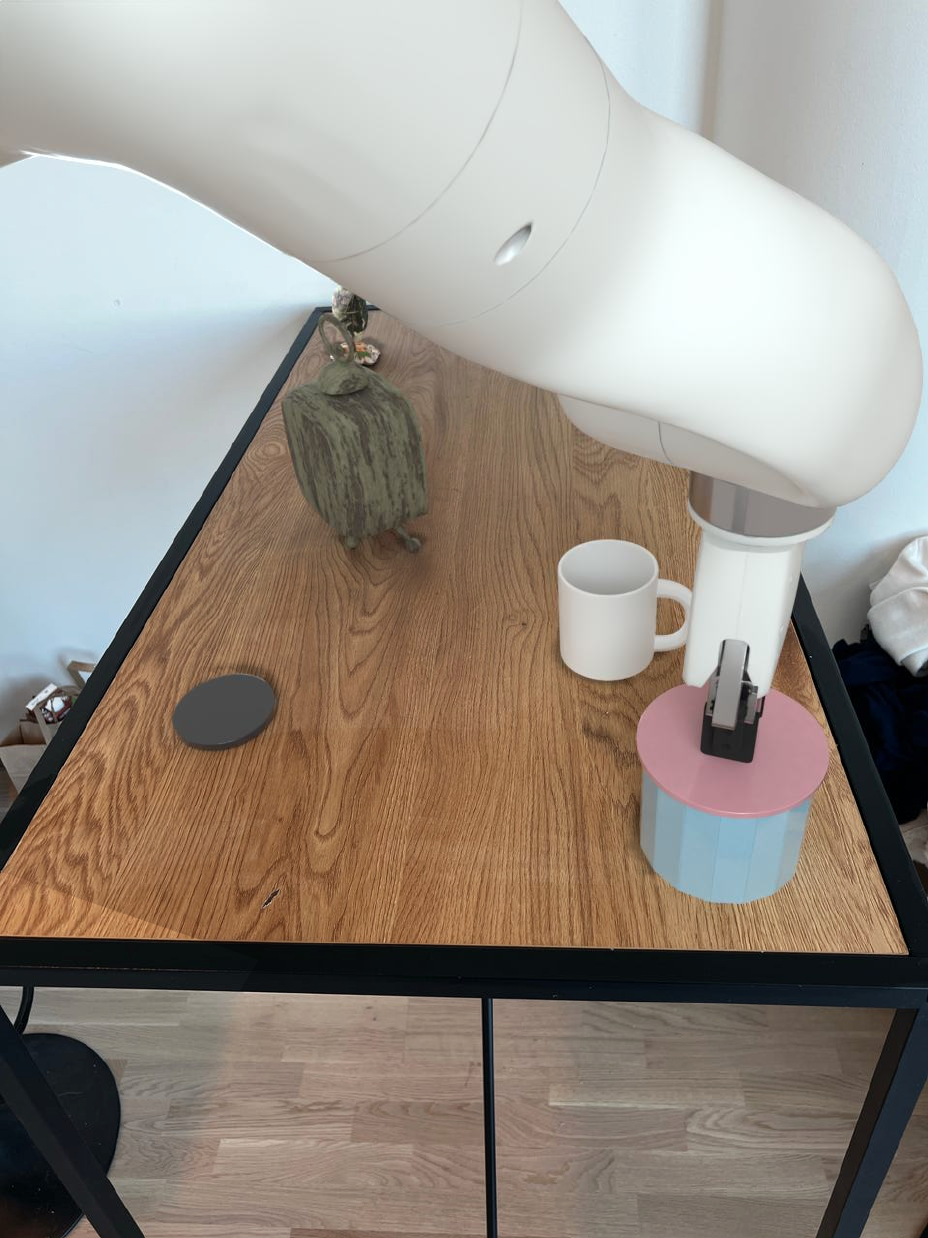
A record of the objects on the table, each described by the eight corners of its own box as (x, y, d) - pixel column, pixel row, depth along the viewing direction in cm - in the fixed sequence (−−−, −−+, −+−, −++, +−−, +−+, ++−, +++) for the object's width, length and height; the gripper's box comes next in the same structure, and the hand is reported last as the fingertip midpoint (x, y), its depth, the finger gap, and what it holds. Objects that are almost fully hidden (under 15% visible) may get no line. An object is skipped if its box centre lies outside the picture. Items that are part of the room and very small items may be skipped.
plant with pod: (388, 340, 148) (369, 207, 136) (375, 370, 139) (354, 231, 127) (338, 343, 149) (314, 211, 137) (322, 372, 140) (296, 234, 128)
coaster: (241, 761, 78) (239, 754, 78) (154, 738, 81) (151, 731, 81) (295, 690, 85) (293, 683, 84) (212, 672, 88) (210, 665, 87)
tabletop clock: (437, 553, 100) (408, 324, 84) (362, 585, 96) (317, 353, 81) (373, 499, 110) (337, 286, 94) (304, 527, 106) (254, 310, 91)
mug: (696, 635, 86) (705, 541, 79) (697, 697, 79) (706, 601, 73) (565, 629, 88) (563, 537, 82) (555, 688, 82) (552, 594, 75)
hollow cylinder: (810, 919, 62) (835, 815, 56) (641, 910, 64) (646, 809, 57) (785, 792, 71) (804, 689, 64) (637, 787, 72) (641, 687, 66)
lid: (843, 829, 56) (865, 745, 51) (638, 821, 57) (641, 740, 53) (809, 691, 65) (825, 610, 60) (633, 688, 67) (636, 609, 62)
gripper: (717, 407, 56) (697, 643, 67) (655, 561, 44) (643, 816, 55) (852, 418, 53) (807, 662, 65) (824, 585, 42) (775, 847, 53)
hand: (732, 731), depth 60 cm, fingers open, 3 cm apart
